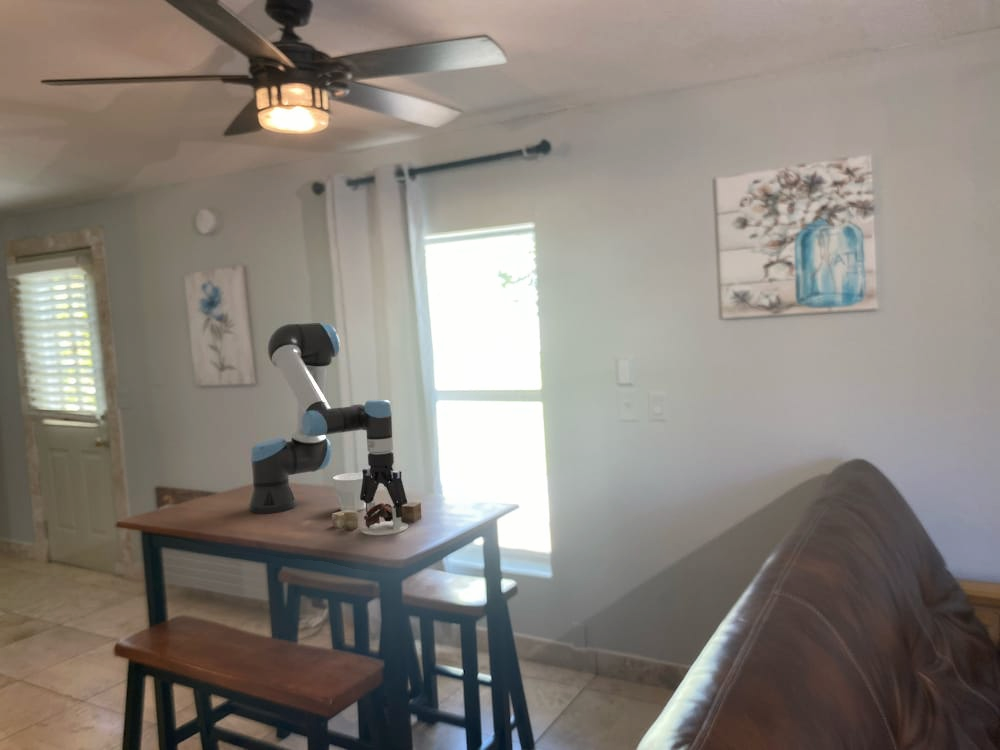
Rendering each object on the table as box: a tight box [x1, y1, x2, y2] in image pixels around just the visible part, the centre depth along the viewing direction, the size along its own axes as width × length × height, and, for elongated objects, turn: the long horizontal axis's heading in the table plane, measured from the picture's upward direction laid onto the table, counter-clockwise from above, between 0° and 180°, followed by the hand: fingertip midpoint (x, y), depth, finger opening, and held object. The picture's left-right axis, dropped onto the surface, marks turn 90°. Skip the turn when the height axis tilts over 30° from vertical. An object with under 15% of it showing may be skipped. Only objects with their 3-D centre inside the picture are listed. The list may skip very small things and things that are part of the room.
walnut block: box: [401, 501, 422, 523], centre depth 227 cm, size 5×5×5 cm
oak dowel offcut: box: [344, 510, 359, 531], centre depth 220 cm, size 4×4×5 cm
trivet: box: [360, 520, 409, 537], centre depth 218 cm, size 14×14×1 cm
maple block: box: [331, 510, 351, 529], centre depth 225 cm, size 4×6×4 cm, turn 135°
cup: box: [332, 472, 366, 512], centre depth 245 cm, size 12×12×11 cm
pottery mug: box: [363, 502, 398, 529], centre depth 218 cm, size 12×10×8 cm
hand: (384, 525), depth 218 cm, fingers open, 10 cm apart
